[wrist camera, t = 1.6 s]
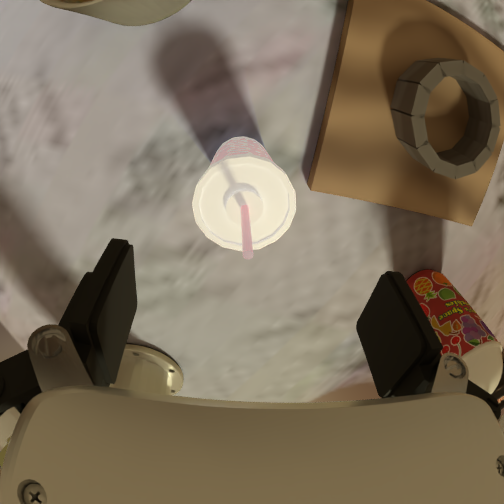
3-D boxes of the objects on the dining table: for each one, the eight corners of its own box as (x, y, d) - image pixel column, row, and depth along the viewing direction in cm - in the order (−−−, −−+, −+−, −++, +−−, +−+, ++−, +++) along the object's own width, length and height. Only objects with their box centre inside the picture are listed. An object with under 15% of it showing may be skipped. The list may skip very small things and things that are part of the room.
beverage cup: (281, 130, 24) (328, 196, 13) (273, 197, 28) (302, 307, 16) (206, 125, 24) (177, 186, 12) (203, 193, 27) (181, 302, 15)
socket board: (464, 220, 30) (489, 242, 25) (307, 184, 27) (320, 208, 23) (511, 63, 19) (543, 70, 15) (353, -26, 16) (377, -41, 12)
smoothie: (455, 260, 33) (542, 384, 16) (430, 310, 37) (493, 431, 21) (404, 257, 32) (495, 407, 15) (381, 312, 37) (440, 453, 20)
